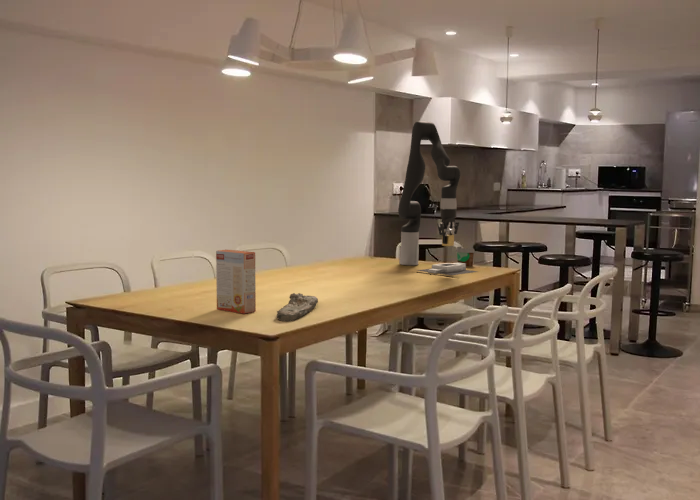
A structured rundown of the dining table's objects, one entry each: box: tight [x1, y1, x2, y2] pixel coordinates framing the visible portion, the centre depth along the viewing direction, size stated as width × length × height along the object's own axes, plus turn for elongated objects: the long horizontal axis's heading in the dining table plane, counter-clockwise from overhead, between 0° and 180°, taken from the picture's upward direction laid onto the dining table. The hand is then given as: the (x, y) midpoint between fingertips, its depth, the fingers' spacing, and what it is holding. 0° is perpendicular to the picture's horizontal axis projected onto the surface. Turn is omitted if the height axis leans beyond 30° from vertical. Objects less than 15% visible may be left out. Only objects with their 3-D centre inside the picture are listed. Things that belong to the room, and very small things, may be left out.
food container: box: [455, 245, 475, 267], centre depth 373 cm, size 12×6×10 cm, turn 25°
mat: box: [415, 267, 479, 278], centre depth 350 cm, size 22×20×1 cm
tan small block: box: [441, 234, 455, 247], centre depth 348 cm, size 4×4×5 cm
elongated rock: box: [275, 292, 319, 322], centre depth 250 cm, size 35×5×10 cm
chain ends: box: [427, 262, 467, 275], centre depth 350 cm, size 9×22×3 cm, turn 133°
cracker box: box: [215, 249, 257, 315], centre depth 250 cm, size 14×6×21 cm, turn 51°
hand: (447, 243), depth 348 cm, fingers closed on tan small block, 4 cm apart
